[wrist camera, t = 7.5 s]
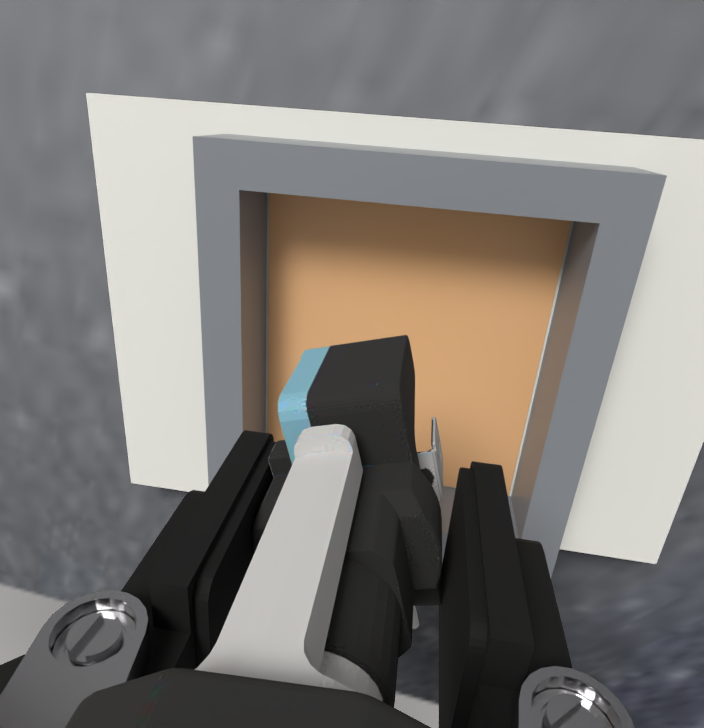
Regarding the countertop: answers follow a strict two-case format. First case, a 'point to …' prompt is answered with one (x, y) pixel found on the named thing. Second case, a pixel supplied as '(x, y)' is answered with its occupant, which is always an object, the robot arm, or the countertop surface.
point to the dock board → (416, 296)
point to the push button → (318, 564)
